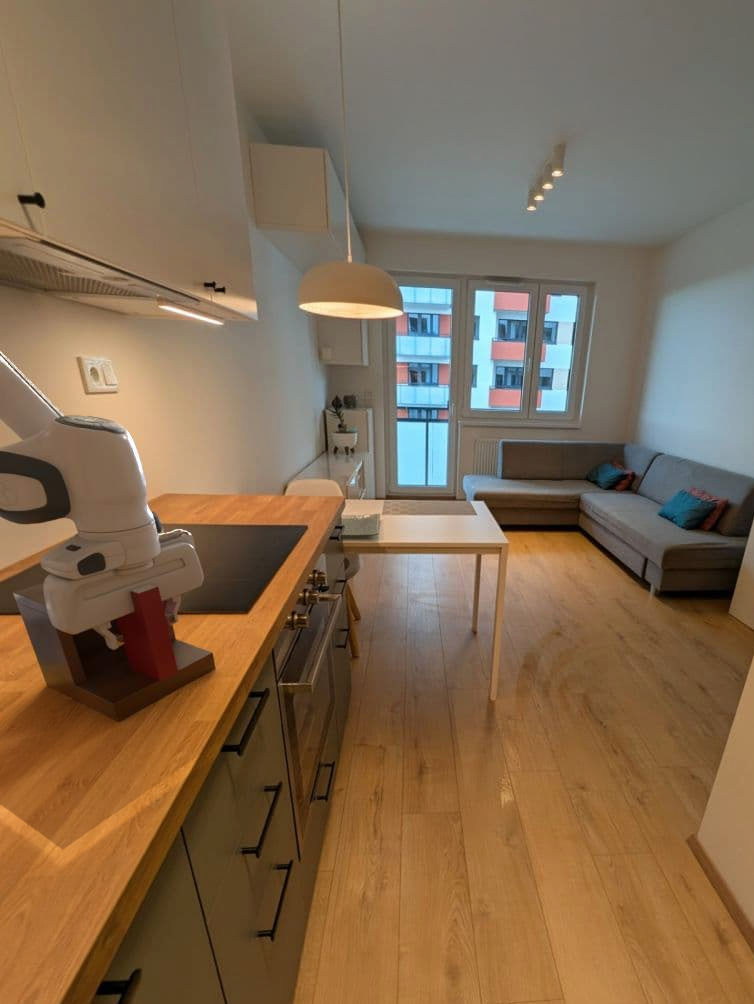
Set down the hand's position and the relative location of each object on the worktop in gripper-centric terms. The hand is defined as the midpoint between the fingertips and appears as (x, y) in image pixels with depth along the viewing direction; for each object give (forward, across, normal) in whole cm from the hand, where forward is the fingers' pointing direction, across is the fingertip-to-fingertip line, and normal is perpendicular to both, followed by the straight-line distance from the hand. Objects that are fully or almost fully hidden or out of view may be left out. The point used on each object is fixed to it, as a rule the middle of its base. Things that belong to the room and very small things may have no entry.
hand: (145, 634), depth 74 cm
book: (+6, 0, 0) cm, 6 cm away
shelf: (+9, 0, -6) cm, 11 cm away
